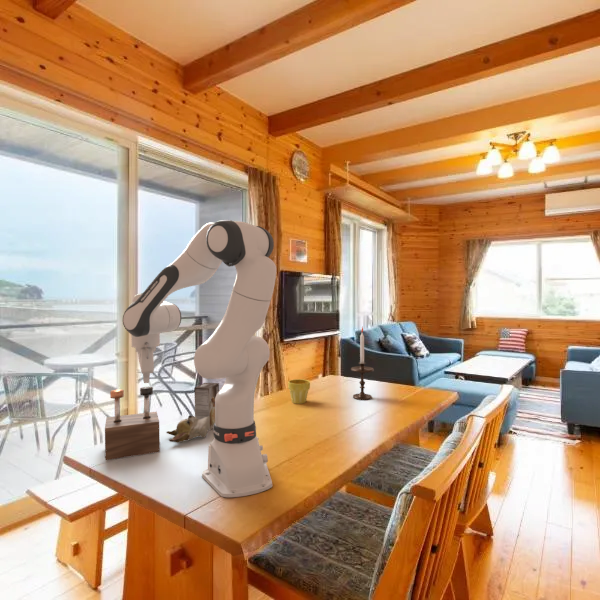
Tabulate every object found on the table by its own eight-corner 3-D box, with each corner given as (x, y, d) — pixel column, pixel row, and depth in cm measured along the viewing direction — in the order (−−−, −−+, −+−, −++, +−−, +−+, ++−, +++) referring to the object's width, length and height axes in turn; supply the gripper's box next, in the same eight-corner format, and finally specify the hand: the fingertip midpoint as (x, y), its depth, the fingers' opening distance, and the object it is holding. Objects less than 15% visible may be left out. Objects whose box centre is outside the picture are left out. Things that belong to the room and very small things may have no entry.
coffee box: (204, 422, 162) (204, 382, 162) (219, 423, 161) (219, 382, 160) (194, 429, 153) (194, 387, 153) (210, 430, 152) (209, 388, 152)
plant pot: (314, 400, 192) (314, 380, 192) (302, 406, 184) (302, 384, 183) (295, 398, 198) (295, 378, 198) (283, 403, 189) (283, 382, 189)
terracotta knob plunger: (124, 431, 131) (123, 391, 131) (110, 433, 130) (110, 392, 130) (124, 427, 135) (123, 388, 135) (111, 429, 133) (110, 390, 133)
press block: (159, 451, 132) (159, 421, 132) (105, 460, 126) (104, 428, 125) (157, 439, 143) (156, 411, 143) (106, 446, 137) (106, 417, 136)
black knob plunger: (153, 427, 135) (153, 388, 135) (140, 429, 133) (140, 389, 133) (152, 423, 139) (152, 386, 138) (140, 425, 137) (139, 387, 137)
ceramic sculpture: (212, 415, 142) (167, 424, 136) (214, 440, 142) (169, 449, 136) (206, 408, 151) (164, 415, 145) (208, 431, 152) (166, 439, 146)
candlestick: (357, 393, 205) (357, 324, 204) (377, 397, 199) (377, 325, 198) (347, 398, 196) (346, 326, 196) (367, 401, 190) (367, 327, 189)
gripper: (158, 344, 127) (158, 388, 127) (153, 337, 146) (154, 375, 146) (136, 345, 125) (137, 390, 125) (134, 338, 143) (135, 377, 144)
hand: (146, 382), depth 136 cm, fingers closed
